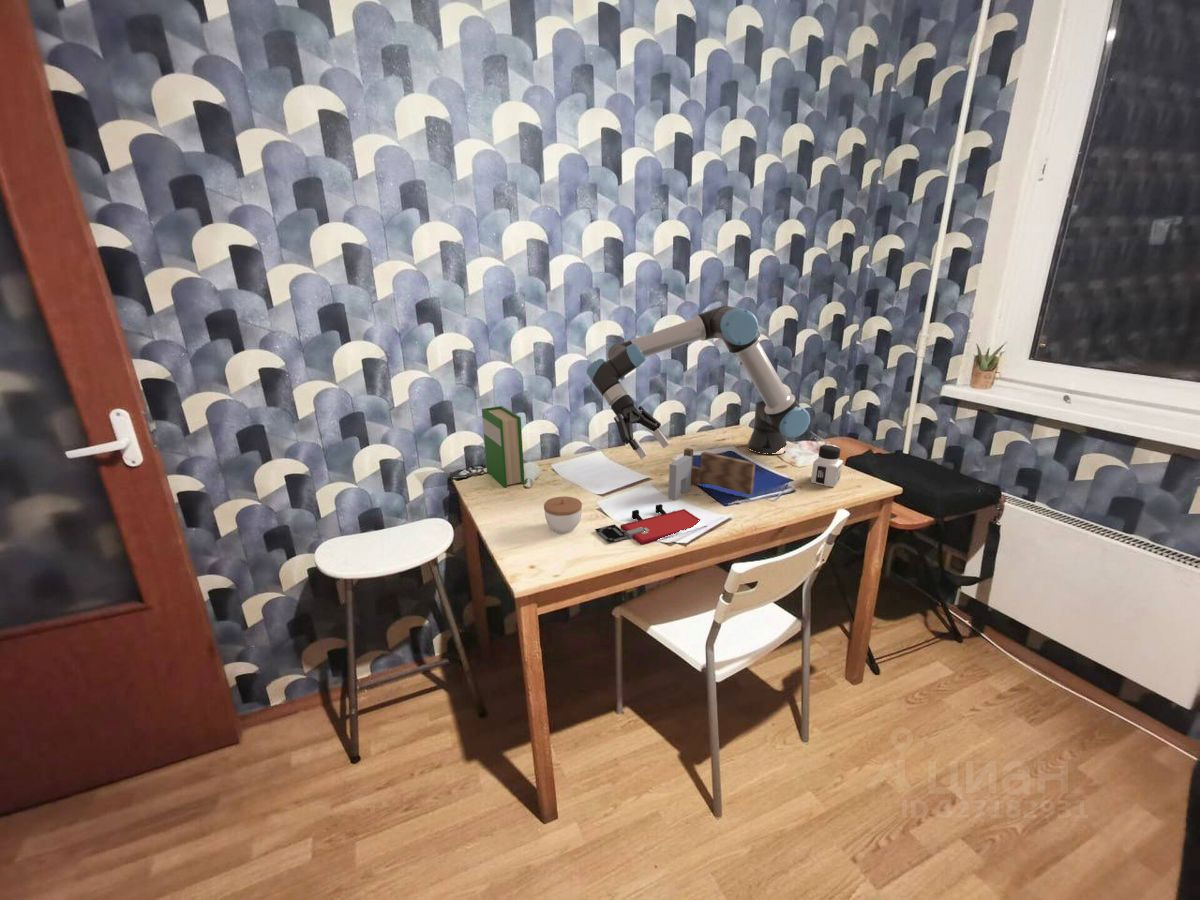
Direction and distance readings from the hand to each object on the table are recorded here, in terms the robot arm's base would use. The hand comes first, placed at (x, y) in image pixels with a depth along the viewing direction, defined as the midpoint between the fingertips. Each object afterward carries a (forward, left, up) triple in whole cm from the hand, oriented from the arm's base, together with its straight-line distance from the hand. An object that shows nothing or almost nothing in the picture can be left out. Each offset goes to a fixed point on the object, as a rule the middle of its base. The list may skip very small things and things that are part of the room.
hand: (655, 451), depth 176 cm
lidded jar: (+15, -38, -13) cm, 43 cm away
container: (+18, +56, -13) cm, 61 cm away
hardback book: (-30, -45, -13) cm, 55 cm away
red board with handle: (+25, -15, -14) cm, 32 cm away
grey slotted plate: (+8, +5, -13) cm, 16 cm away
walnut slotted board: (+9, +18, -13) cm, 24 cm away
